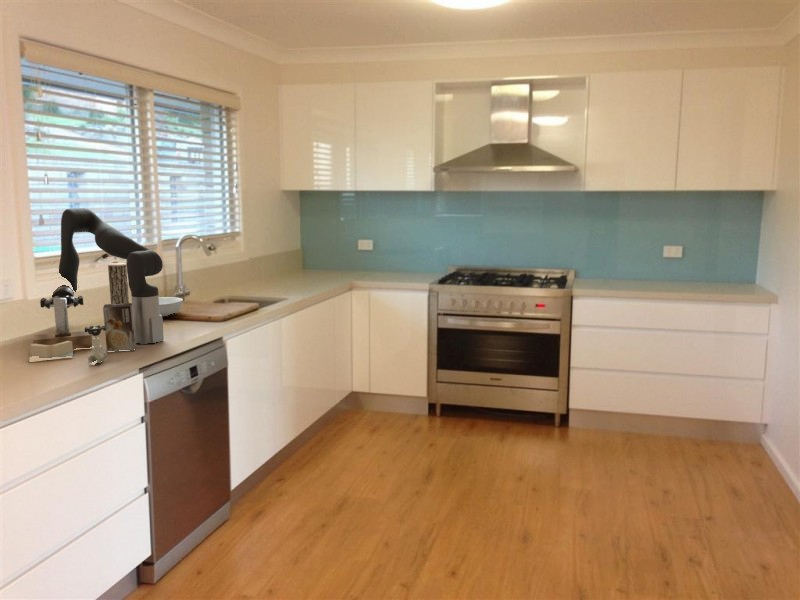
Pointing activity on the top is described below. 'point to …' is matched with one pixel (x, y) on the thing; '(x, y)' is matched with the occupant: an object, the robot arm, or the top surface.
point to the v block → (52, 350)
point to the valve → (96, 344)
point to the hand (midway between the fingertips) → (61, 305)
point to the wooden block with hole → (66, 339)
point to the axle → (61, 317)
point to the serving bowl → (169, 305)
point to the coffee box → (119, 327)
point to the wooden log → (118, 283)
